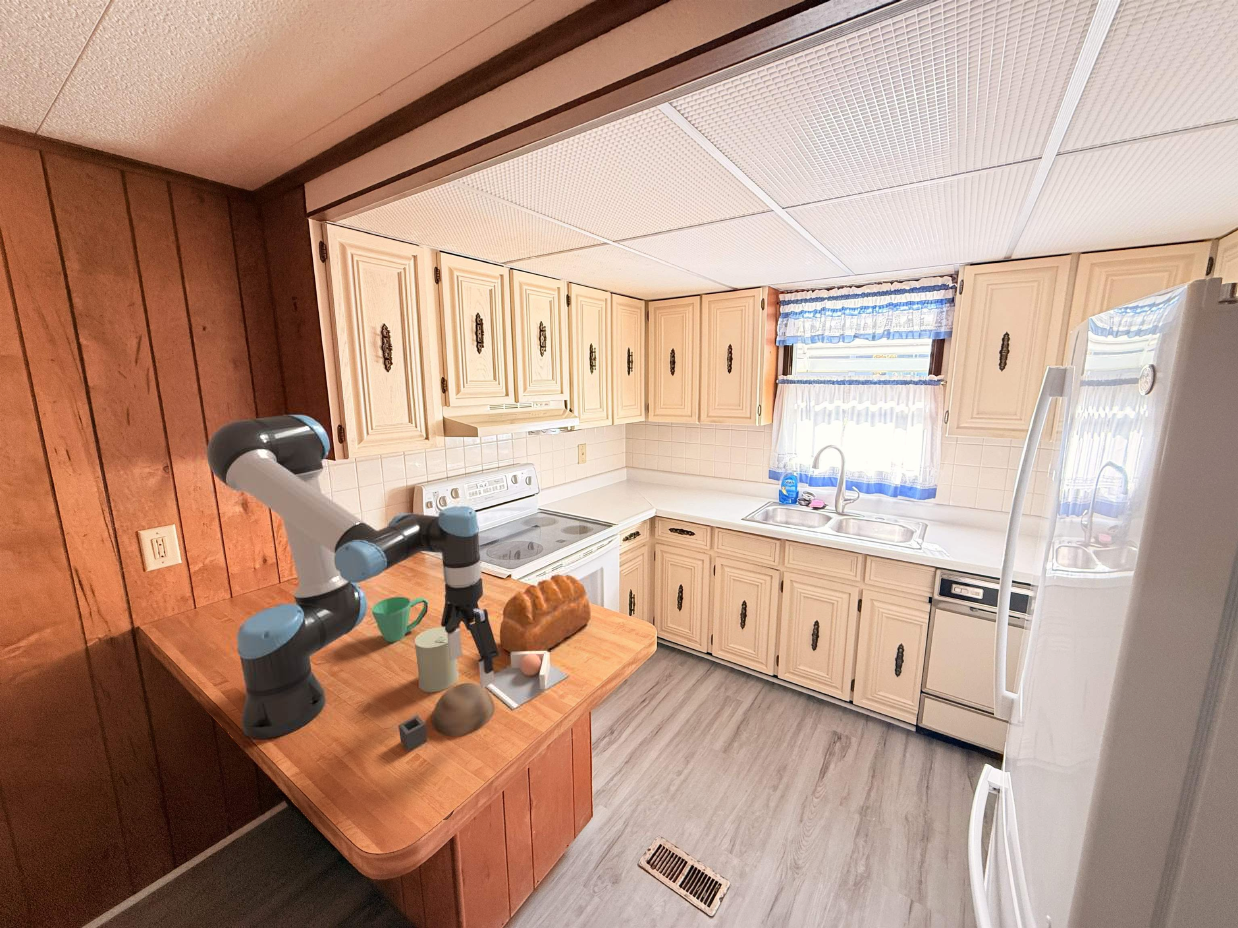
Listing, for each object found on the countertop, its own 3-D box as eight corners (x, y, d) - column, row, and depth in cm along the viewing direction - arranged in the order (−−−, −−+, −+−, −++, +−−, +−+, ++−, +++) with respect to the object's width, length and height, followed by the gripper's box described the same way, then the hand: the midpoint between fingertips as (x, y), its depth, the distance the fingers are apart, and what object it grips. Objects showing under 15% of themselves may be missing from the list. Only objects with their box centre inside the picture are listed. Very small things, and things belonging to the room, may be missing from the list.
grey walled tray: (513, 709, 106) (512, 693, 105) (480, 682, 116) (478, 667, 115) (568, 676, 117) (568, 661, 116) (534, 653, 127) (533, 639, 126)
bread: (494, 647, 130) (490, 594, 127) (562, 608, 151) (560, 561, 148) (530, 664, 122) (526, 608, 119) (596, 621, 142) (595, 572, 139)
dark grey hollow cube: (408, 751, 95) (406, 734, 94) (400, 741, 97) (398, 724, 97) (427, 741, 97) (425, 723, 97) (419, 731, 100) (417, 714, 99)
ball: (527, 672, 113) (535, 651, 116) (513, 669, 116) (521, 649, 119) (540, 680, 116) (548, 659, 119) (525, 677, 119) (534, 657, 122)
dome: (453, 775, 98) (447, 719, 95) (424, 742, 106) (419, 690, 104) (507, 739, 107) (504, 688, 104) (477, 711, 116) (473, 663, 113)
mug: (381, 651, 129) (376, 617, 127) (371, 636, 136) (367, 603, 134) (435, 632, 138) (432, 600, 136) (424, 619, 145) (421, 588, 144)
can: (435, 697, 111) (430, 650, 108) (410, 683, 115) (405, 638, 113) (467, 675, 118) (463, 631, 116) (442, 664, 123) (438, 621, 121)
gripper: (512, 592, 95) (518, 687, 99) (451, 559, 112) (459, 641, 116) (478, 606, 90) (486, 705, 94) (420, 569, 107) (428, 655, 111)
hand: (471, 670), depth 105 cm, fingers open, 13 cm apart
